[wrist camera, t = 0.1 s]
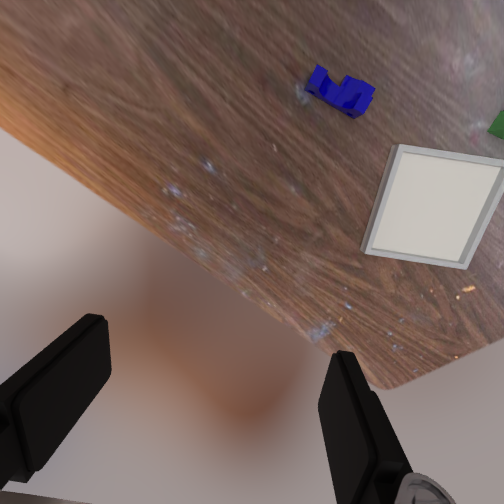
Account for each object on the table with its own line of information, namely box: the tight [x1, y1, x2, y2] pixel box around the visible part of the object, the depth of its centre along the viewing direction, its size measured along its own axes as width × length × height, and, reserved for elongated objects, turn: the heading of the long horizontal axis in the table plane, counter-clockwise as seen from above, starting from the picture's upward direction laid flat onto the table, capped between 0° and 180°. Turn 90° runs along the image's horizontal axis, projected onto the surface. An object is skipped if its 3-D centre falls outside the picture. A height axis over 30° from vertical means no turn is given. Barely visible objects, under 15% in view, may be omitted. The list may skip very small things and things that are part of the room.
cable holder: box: [305, 64, 376, 119], centre depth 33 cm, size 8×4×4 cm, turn 63°
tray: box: [360, 144, 504, 270], centre depth 38 cm, size 16×16×2 cm
